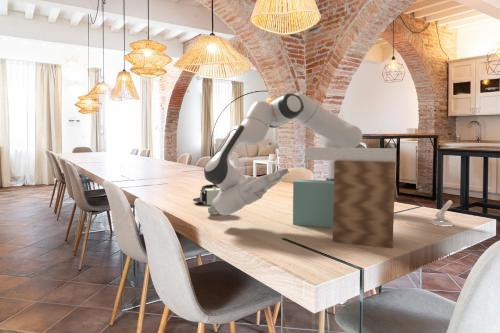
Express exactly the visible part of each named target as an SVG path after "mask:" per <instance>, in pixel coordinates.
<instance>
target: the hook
mask: <svg viewBox="0 0 500 333" xmlns="http://www.w3.org/2000/svg"><path fill="white" fill-rule="evenodd" d="M451 205H453V201H452V200H451V199H450V200H448V201H446V203H445V204H444V205H443V206H442V208H441V209H440V210H439V211H438V212H436V214H435V215H434V216H435V218H433V219H432V220H431V221H430V224H431V223H433V224H436V225H454V223H453V222H452V220H450V219H447V218H446V215H445V213H446V211H448V209H450V207H452V206H451ZM440 221H443V222H440ZM436 225H435V226H436Z"/></svg>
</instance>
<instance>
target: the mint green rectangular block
mask: <svg viewBox="0 0 500 333" xmlns="http://www.w3.org/2000/svg"><path fill="white" fill-rule="evenodd" d="M292 184H293V185H292V186H293V187H292V188H293V189H292V191H293V192H292V224H293V225H299V226H308V227H309V226H310V227H318V228H319V227H320V228H328V229H329V228H331V229H333V205H334V181H326V180H323V179H322V180H321V179H296V180H294V181H293V182H292Z"/></svg>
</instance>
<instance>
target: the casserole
mask: <svg viewBox="0 0 500 333" xmlns="http://www.w3.org/2000/svg"><path fill="white" fill-rule="evenodd" d="M213 187H215V188H219V187H218V186H216V185H215V184H213V183H212V184H205V185H202V187H201V189H200V192H203V189H213ZM192 201H194V202H196V203H200V204H204V203H203V202H201V201H200V197H195V198H193V199H192Z"/></svg>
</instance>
